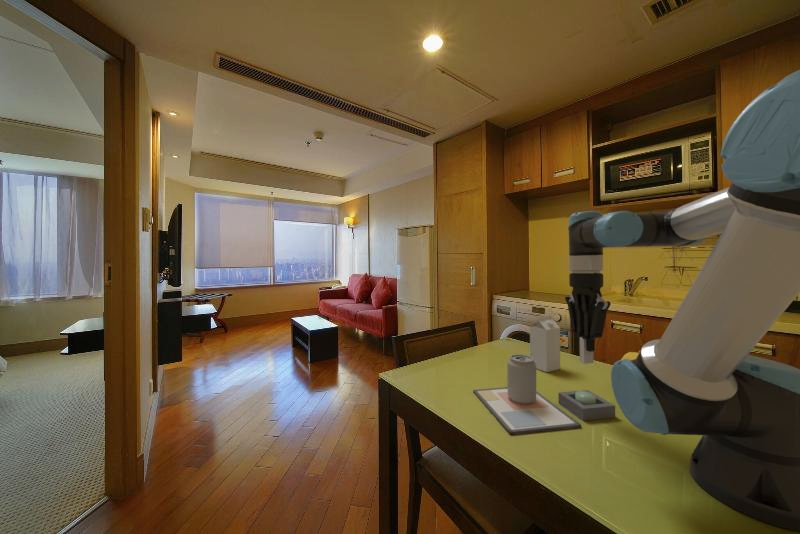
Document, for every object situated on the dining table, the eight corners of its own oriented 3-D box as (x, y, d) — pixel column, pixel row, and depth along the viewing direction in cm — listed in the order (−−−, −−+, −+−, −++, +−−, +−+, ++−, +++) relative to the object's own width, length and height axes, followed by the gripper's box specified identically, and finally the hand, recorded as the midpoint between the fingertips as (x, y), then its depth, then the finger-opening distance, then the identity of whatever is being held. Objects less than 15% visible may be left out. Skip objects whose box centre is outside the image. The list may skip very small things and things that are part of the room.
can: (530, 393, 86) (530, 352, 86) (540, 406, 79) (540, 362, 79) (504, 392, 87) (504, 352, 87) (511, 405, 80) (511, 361, 79)
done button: (600, 411, 76) (600, 398, 76) (584, 412, 76) (584, 399, 75) (586, 402, 81) (586, 390, 81) (571, 404, 80) (571, 391, 80)
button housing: (615, 417, 74) (615, 405, 74) (582, 420, 73) (582, 408, 73) (587, 400, 83) (587, 389, 83) (558, 403, 82) (558, 392, 82)
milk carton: (529, 366, 110) (529, 315, 109) (543, 363, 113) (543, 313, 112) (546, 372, 103) (546, 318, 103) (560, 369, 106) (560, 316, 106)
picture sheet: (581, 427, 70) (581, 424, 70) (510, 435, 68) (510, 432, 68) (528, 387, 92) (528, 385, 92) (473, 392, 90) (473, 389, 90)
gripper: (620, 272, 71) (621, 370, 71) (580, 271, 84) (581, 354, 84) (592, 273, 70) (593, 372, 70) (556, 271, 83) (556, 355, 83)
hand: (586, 362), depth 77 cm, fingers closed
